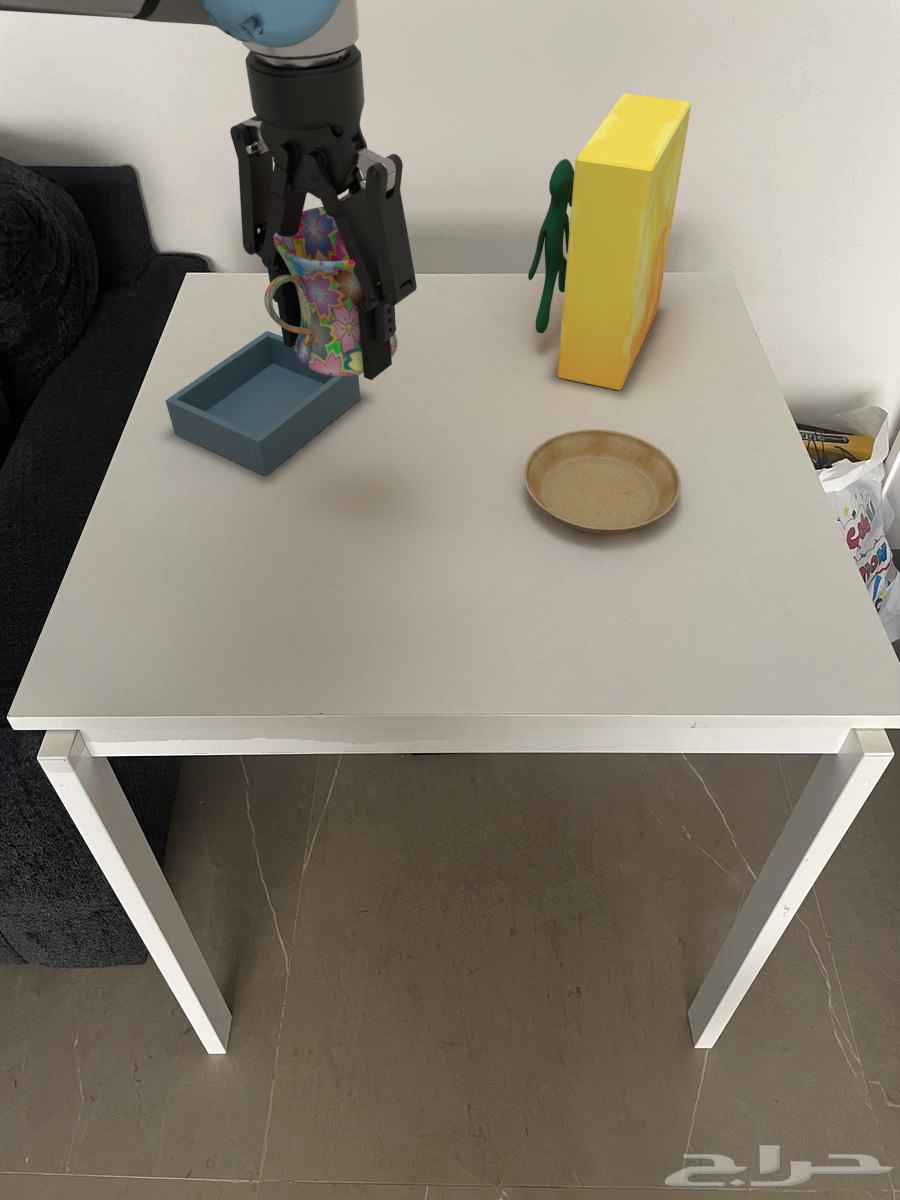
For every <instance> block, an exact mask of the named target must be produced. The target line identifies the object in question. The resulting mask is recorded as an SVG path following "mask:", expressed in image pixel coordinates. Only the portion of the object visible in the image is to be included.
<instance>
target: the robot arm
mask: <svg viewBox="0 0 900 1200" xmlns="http://www.w3.org/2000/svg"><path fill="white" fill-rule="evenodd" d="M0 12H14V13H15V12H16V13H30V14H31V13H33V14H49V15H51V14H52V15H63V16H64V15H65V16H83V17H84V16H85V17H100V18H115V19H116V18H117V19H119V18H120V19H127V20H128V19H129V20H140V21H144V22H145V21H146V22H150V23H151V22H152V23H169V24H186V25H189V24H190V25H203V26H210V27H216V28H217V29H219V30H220V31H222V32H223V33H224V34H225V35H228V36H230V37H231V38H233V39H235V40H236V41H239V42H241V44H242V45H243V46H244V47H245V48H246V49H247V50H248V53H247V55H246V57H245V67H246V72H247V73H246V74H247V75H246V76H247V81H248V87H249V93H250V101H251V106H252V110H253V113H254V116H252V117H249V118H247V119H246V120H243V121H241V122H239V123H237V124H234V125H233V126H231V127H230V131H229V133H230V138H231V141H232V145H233V147H234V150H235V154H236V157H237V166H238V167H237V169H238V182H239V200H240V201H239V202H240V217H241V236H242V246H243V247H242V248H243V249H244V252H245V253H247V254H248V255H249V256H253V255H257V256H258V257H259V258H261V263H262V264H263V266H264V267H265V268H266V269H267V274H268V281H269V284H270V283H271V282H272V281H273V280H274V279H275V278H277V277H279V276H281V275H291V273H290V271H289V269H288V267H287V265H286V263H285V261H284V259H283V258H282V256H281V255H280V253H279V252H278V250H277V248H276V247H275V244H274V234H275V233H277V234H278V235H280V236H283V237H291V236H294V235H296V234H298V230H299V226H300V221H301V217H302V212H303V211H304V208H305V203H306V199H307V194H310V195H312V196H314V197H315V198H316V199H318V200H320V201H321V205H322V207H324V209H325V212H326V214H327V215H328V216H330V217H333V218H334V220H335V223H336V225H337V228H338V230H339V233H340V236H341V238H342V241H343V243H344V246H345V248H346V251H347V253H348V256H349V258H350V260H354V261H355V266H354V271H355V273H356V276H357V278H358V281H359V284H360V286H361V289H362V291H363V294H364V296H365V298H364V299H363V300H361V301H360V302H358V303H357V306H358V317H359V328H360V339H361V350H362V361H363V372H364V374H363V378H365V379H367V380H369V381H373V380H374V379H376V377H378V376H379V375H380V374H382V373H383V372H384V371H386V370H387V369H388V368H389V367H390V366H392V365H393V358H391V343H390V338H391V337H392V336H393V335H394V334H395V335H396V331H397V323H396V321H397V320H396V307H395V306H396V305H397V304H399V303H401V302H402V301H403V300H405V299H406V298H407V297H409V296H410V295H411V294H413V293H414V292H415V291H417V289H418V288H417V280H416V273H415V267H414V263H413V256H412V250H411V244H410V239H409V234H408V233H409V232H408V227H407V221H406V215H405V210H404V203H403V198H402V192H401V186H402V176H403V167H404V165H403V161H402V159H401V157H400V156H399V155H398V154H396V153H391V154H389V155H387V156H386V157H384V156H382V155H380V154H378V153H376V152H374V151H373V150H371V149H369V148H368V143H367V140H366V139H365V136H364V135H363V132H362V128H361V118H362V113H363V110H364V106H365V101H366V100H365V99H366V98H365V87H364V73H363V59H362V58H363V57H362V53H361V51H360V49H359V48H358V47H357V46H356V45H355V44H356V42H357V41H358V39H359V37H360V27H359V26H360V25H359V24H360V23H359V12H358V0H0ZM347 191H348V193H347V194H345V195H343V196H342V197H340V198H339V196H340V195H341V194H343V193H345V192H347ZM258 230H259V231H258ZM291 276H292V275H291ZM378 282H380V283H379V284H378ZM273 302H274V303H277V309H278V317H279V318H280V319H281V320H282V321H284V322H285V323H287V324H288V325H291V326H295V327H300V326H301V308H300V301H299V296H298V292H297V289H296V286H295V283H294V282H291V281H289V282H285V283H283V284H281V285H280V286H279V287H278V288H277V290H276V291H275V293H274V296H273ZM280 328H281V334H282V335H281V336H282V337H283V341H284V345H285V346H288V347H290V348H291V347H293V346H294V345H295V343H296V340H297V337H298V335H299V333H294V332H291V331H289V330H287V329H285V328H283V327H281V326H280Z"/></svg>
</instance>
